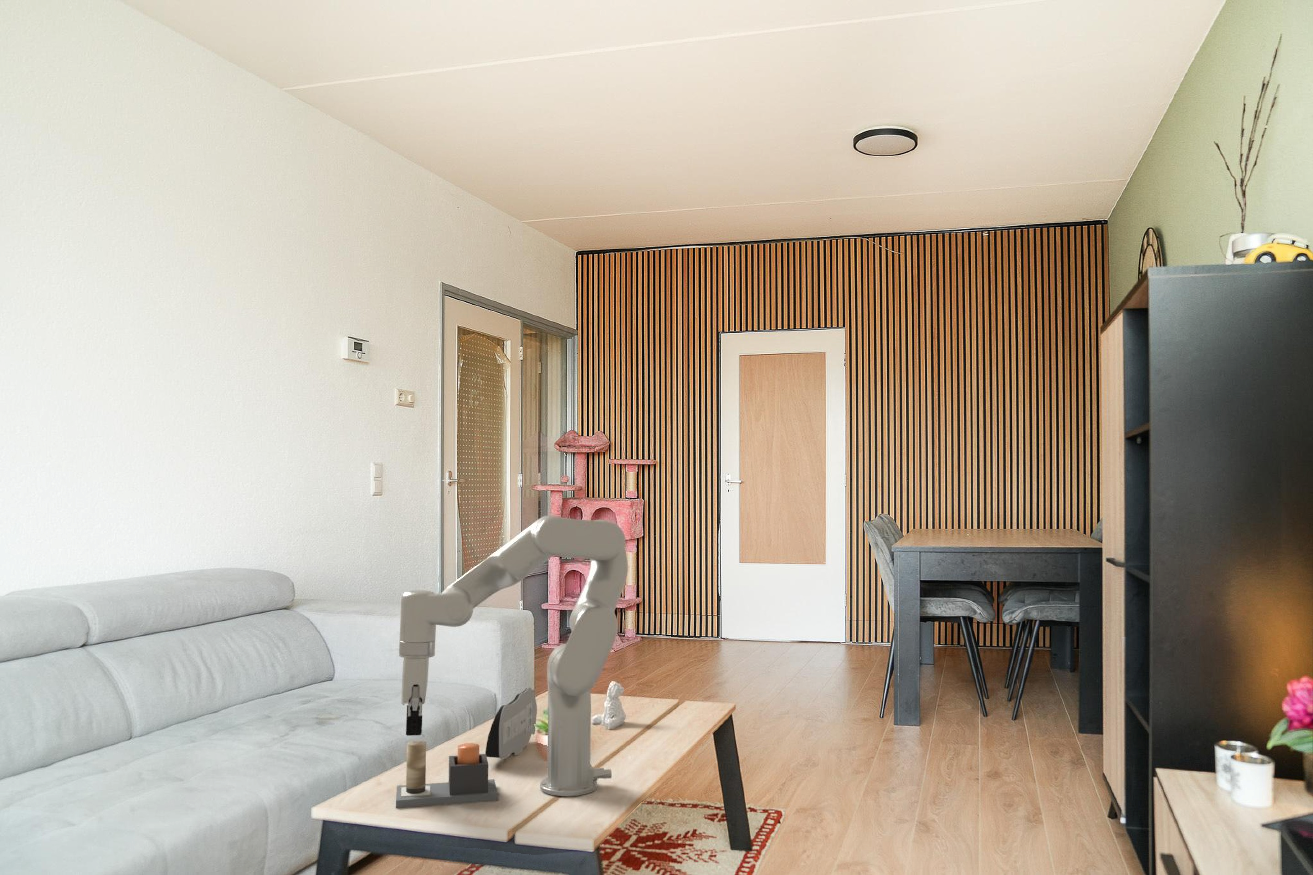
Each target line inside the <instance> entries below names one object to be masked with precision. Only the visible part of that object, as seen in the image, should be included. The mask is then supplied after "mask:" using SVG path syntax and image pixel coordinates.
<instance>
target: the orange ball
mask: <svg viewBox="0 0 1313 875" xmlns="http://www.w3.org/2000/svg"><path fill="white" fill-rule="evenodd" d="M479 754H480V744H479V743H473V742H472V743H471V742H470V743H469V742H468V743H467V742H466V743H461V744H458V745H457V756H458V765H461V764H477V763H479Z"/></svg>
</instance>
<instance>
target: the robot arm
mask: <svg viewBox="0 0 1313 875" xmlns="http://www.w3.org/2000/svg"><path fill="white" fill-rule="evenodd" d="M625 535H626V534H625V533H624V531H623V529H622V528H621V527H620V526H619V525H618V524H616V523H615V522H612V521H608V520H606V519H594V520H589V519H576V518H568V517H567V518H566V517H561V516H557V515H554V514H553V515H552V514H550V515H549V514H548V515H544V516H541V517H539V519H537V520H535V521H534V522H533V523H531V524H530V525H529V526H528V527H526V528H525V529H523V530H522V531H521V532H520V533H518V534H517V535H516V536H515V537H513V538H512V539H511V540H509V541H508V542H506V543H505V544H504V545H503V546H501V547H500V548H499V549H497V550H496V551H495V552H493V553H491V555H489V556H488V557H486V558H485V559H484V560H483V561H481V562H479V564H477V565H476V566H475V567H473V568H471V569H470V570H469V571H467V572H466V573H465V574H463V575H462V576H461V577H459V578H458V579H457V580H455V581H454V582H453V583H451V584H450V585H448V586H447V587H446V588H445V589H444V590H443V591H441V593H435V592H433V591H430V590H421V589H418V590H417V589H416V590H408V591H405V592H403V594H402V596H401V601H400V620H399V621H400V623H399V624H400V625H399V627H400V628H399V646H398V648H399V649H398V657H400V658H403V661H402V678H401V704H402V705H403V706H405V704H407V705H406V721H405V722H406V724H405V726H406V727H405V735H406V736H407V737H408V736H411V737H412V736H421V735H422V733H423V732H422V731H423V729H422V728H423V705H425V703H426V698H427V691H428V690H427V688H428V679H429V664H430V663H429V661H430V658H432V657H434V656H436V635H437V634H436V633H437V630H436V629H437V626H444V627H451V628H456V627H462V626H464V625H466V624H467V623H468V622H469V621H470V620H471V618H472V617H473V613H474V609H476V608H477V607H478V606H479V605H480V604H482V603H483V602H484V601H486V600H487V599H488V598H490V597H491V596H493V595H494V594H495V593H497V592H500V591H501V590H503V589H507V588H510V587H512V586H514V585H516V584H518V583H521V581H523V580H524V579H525V578H526V577H527V576H529V575H530V574H531V573H533V572H534V571H535V570H536V569H538V568H540V567H541V566H542V565H543V564H544V563H545V562H547V561H549V560H550V559H551V558H553V557H558V558H559V557H561V558H567V559H582V560H590V568H589V572H588V574H587V578H586V580H585V583H584V586H583V588H582V590H581V592H580V594H579V595H578V596H579V597H578V599H577V601H576V603H575V605H574V607H573V609H572V611H571V614H570V615H569V616H570V617H569V622H568V624H569V629H570V630H571V632H570V635H569V637H568V639H567V641H566V643H562V644H559V645H558V646H556V647H555V648H554V649H553V650H552V652H550V655H549V657H548V659H547V663H546V664H547V665H546V680H547V713H548V714H547V769H546V770H547V773H546V775H547V777H545V778H544V779H542V780H541V781H540V783H539V784H540V786H539V788H540V790H541V791H542V792H543V793H545V794H548V795H551V796H557V797H576V796H583V795H586V794H590V793H592V792H594V791H595V790H596V789H597V788H598V780H599V779H604V780H606V779H612V769H611V768H610V769H609V768H608V769H605V768H604V767H595V768H594V767H593V766H592V763H591V740H592V738H591V730H592V726H591V725H592V723H591V717H592V699H591V698H592V694H591V690H593V688H594V687H595V685H596V684H597V682H598V680H599V678H600V676H601V674H602V672H603V670H604V668H605V664H606V663H607V660H608V657H609V655H610V653H611V652H612V651H611V650H612V648H613V646H614V644H615V641H616V639H617V638H616V637H617V634H618V630H619V629H618V628H619V624H618V622H619V621H618V619H617V615H616V614H615V610H616V608H617V605H618V603H619V600H620V599H621V596H622V592H623V590H624V587H625V585H626V581H627V577H628V571H629V569H628V568H629V566H628V555H627V552H626V551H627V550H626V548H625V545H626V536H625Z"/></svg>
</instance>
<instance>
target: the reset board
mask: <svg viewBox="0 0 1313 875" xmlns="http://www.w3.org/2000/svg"><path fill="white" fill-rule="evenodd" d="M395 795H396V796H395V808H396V809H397V808H398V809H399V808H414V807H427V806H440V805H452V804H453V805H454V804H455V805H456V804H466V803H467V804H468V803H469V804H470V803H481V802H494V801H495V802H496V801H499V793H498V789H497V785H496V781H495V778H494V779H489V762H488V757H486V754H485V753H481V754H480V753H479V763H477V764H461V765H458V755H449V756H448V782H446V781H445V782H434V783H425V791H424V792H422V793H417V794H410V793H407V792H406V785H405V784H403V785H396V794H395Z"/></svg>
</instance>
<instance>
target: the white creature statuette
mask: <svg viewBox="0 0 1313 875" xmlns="http://www.w3.org/2000/svg"><path fill="white" fill-rule="evenodd" d="M606 691H607V692H606V699H605V702H604V703H603V710H604V711H603V713H601V714H600V713H599V714H595V715H594V716H591V725H600V726H603V727H604V728H605V730H608V731H611V730H614V729H616V728H618V727H620V726H622V725H623V724H624V723H625V720H626V718H627V714H626V713H625V711H624V708H623V706H622V701H621V699H620V698H619V697H620V696H621V695H623V693H624V692H625V688H624V687H623V686H622V684H621V683H618V682H617V681H612V680H611V682H610V683H609V684H608V688H607V690H606Z"/></svg>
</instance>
